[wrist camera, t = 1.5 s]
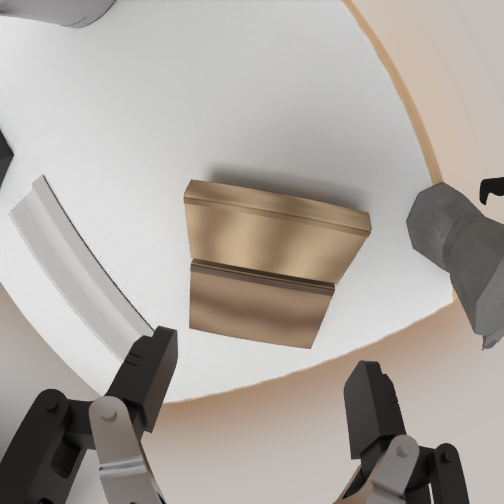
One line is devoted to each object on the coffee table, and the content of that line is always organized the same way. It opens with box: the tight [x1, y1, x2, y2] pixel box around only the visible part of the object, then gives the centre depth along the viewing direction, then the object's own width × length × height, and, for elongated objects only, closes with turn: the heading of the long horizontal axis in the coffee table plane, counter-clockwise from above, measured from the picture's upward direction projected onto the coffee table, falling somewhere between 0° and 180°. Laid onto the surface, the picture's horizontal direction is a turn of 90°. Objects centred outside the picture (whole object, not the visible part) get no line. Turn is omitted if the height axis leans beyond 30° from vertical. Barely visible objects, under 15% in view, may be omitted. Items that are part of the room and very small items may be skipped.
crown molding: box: [9, 175, 154, 363], centre depth 35 cm, size 31×12×4 cm, turn 29°
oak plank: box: [184, 180, 372, 284], centre depth 26 cm, size 16×9×2 cm, turn 81°
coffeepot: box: [407, 177, 504, 350], centre depth 18 cm, size 15×9×18 cm, turn 6°
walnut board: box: [189, 258, 335, 349], centre depth 33 cm, size 10×16×2 cm, turn 81°
